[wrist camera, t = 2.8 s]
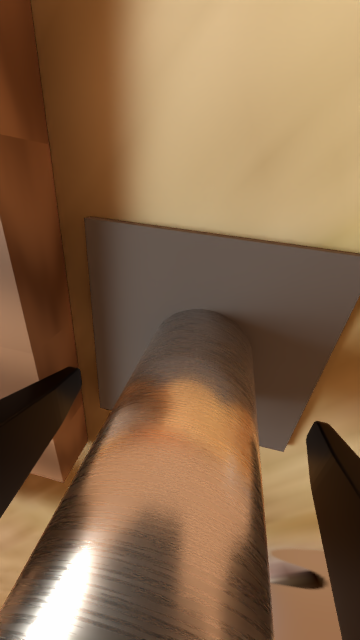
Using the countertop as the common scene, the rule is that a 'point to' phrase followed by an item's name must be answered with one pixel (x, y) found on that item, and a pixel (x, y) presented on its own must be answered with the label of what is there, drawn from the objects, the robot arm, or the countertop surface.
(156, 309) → the rubber mat
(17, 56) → the hole block
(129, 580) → the steel peg
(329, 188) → the countertop surface
